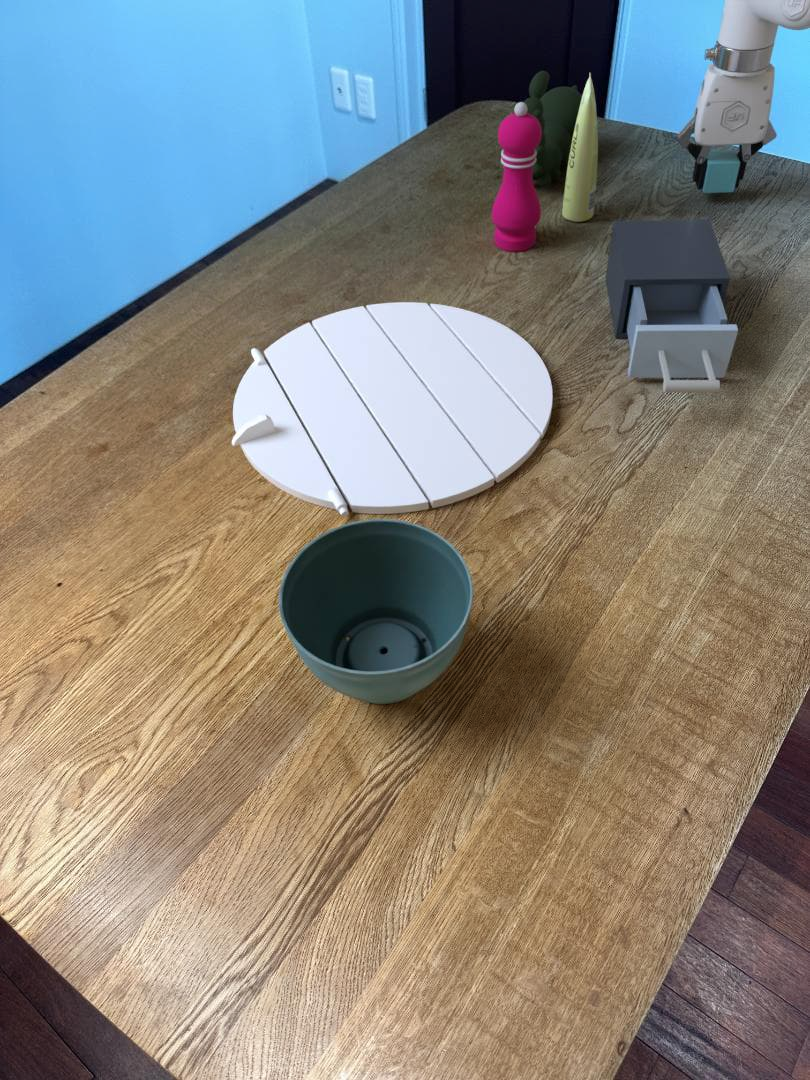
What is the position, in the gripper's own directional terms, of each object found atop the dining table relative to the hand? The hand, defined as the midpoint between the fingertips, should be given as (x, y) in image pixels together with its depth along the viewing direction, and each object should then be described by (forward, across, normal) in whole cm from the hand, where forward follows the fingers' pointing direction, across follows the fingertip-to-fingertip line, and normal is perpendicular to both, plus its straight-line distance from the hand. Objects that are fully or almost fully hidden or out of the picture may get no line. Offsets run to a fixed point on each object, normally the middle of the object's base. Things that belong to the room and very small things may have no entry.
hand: (716, 183), depth 128 cm
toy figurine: (+2, -26, +12) cm, 28 cm away
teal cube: (0, 0, 0) cm, 0 cm away
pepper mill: (+2, -32, -13) cm, 34 cm away
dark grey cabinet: (+3, -13, -30) cm, 33 cm away
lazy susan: (+2, -48, -50) cm, 69 cm away
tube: (+2, -22, -4) cm, 22 cm away
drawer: (+2, -13, -44) cm, 46 cm away
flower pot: (+3, -45, -88) cm, 99 cm away
